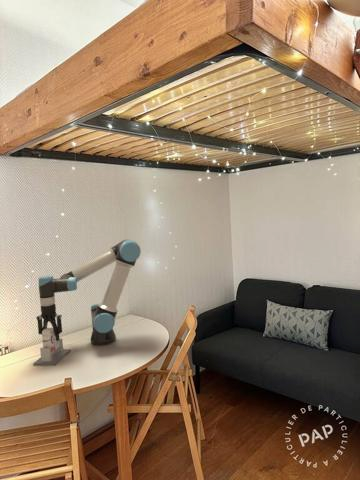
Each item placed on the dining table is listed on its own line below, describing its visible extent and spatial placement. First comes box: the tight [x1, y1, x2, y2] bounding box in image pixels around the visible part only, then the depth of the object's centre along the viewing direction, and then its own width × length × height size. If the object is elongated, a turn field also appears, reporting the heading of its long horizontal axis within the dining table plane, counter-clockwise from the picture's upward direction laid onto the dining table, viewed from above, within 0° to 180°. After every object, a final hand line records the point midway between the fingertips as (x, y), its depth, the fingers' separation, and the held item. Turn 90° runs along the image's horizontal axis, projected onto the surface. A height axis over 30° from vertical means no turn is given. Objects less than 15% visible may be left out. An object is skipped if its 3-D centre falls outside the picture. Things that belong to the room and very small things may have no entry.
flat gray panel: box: [32, 337, 72, 366], centre depth 180 cm, size 12×18×9 cm, turn 173°
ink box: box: [41, 325, 60, 352], centre depth 180 cm, size 9×5×12 cm, turn 169°
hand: (51, 346), depth 180 cm, fingers closed on ink box, 5 cm apart
